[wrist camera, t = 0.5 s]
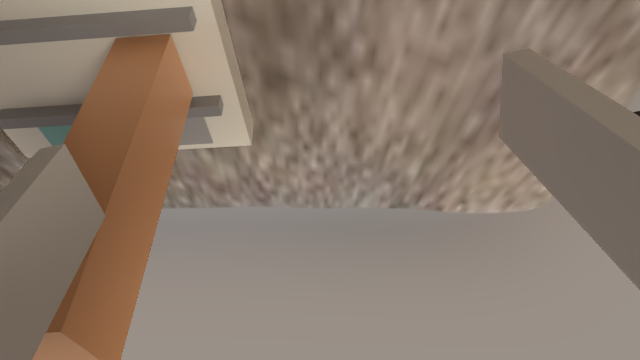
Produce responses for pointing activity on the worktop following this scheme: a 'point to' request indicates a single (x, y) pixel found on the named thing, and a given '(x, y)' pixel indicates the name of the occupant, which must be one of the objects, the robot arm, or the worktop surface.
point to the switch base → (90, 53)
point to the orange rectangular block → (120, 190)
